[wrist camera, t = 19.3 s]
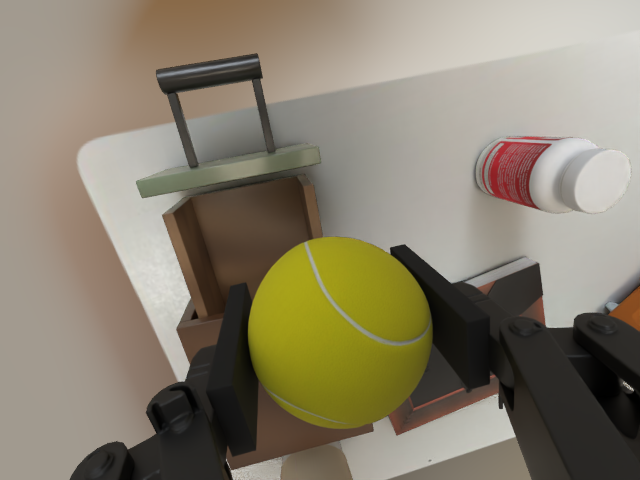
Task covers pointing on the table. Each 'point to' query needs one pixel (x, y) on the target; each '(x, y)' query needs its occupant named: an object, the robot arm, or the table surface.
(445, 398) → the picture frame
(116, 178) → the table surface
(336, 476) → the coffee cup
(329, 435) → the cabinet
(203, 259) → the drawer
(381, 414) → the tennis ball
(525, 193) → the pill bottle
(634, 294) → the alarm clock
